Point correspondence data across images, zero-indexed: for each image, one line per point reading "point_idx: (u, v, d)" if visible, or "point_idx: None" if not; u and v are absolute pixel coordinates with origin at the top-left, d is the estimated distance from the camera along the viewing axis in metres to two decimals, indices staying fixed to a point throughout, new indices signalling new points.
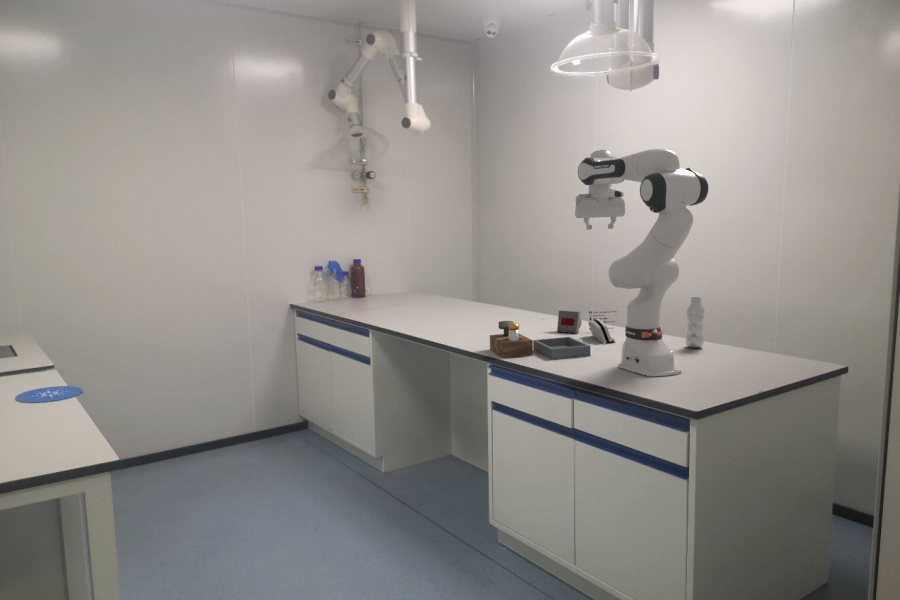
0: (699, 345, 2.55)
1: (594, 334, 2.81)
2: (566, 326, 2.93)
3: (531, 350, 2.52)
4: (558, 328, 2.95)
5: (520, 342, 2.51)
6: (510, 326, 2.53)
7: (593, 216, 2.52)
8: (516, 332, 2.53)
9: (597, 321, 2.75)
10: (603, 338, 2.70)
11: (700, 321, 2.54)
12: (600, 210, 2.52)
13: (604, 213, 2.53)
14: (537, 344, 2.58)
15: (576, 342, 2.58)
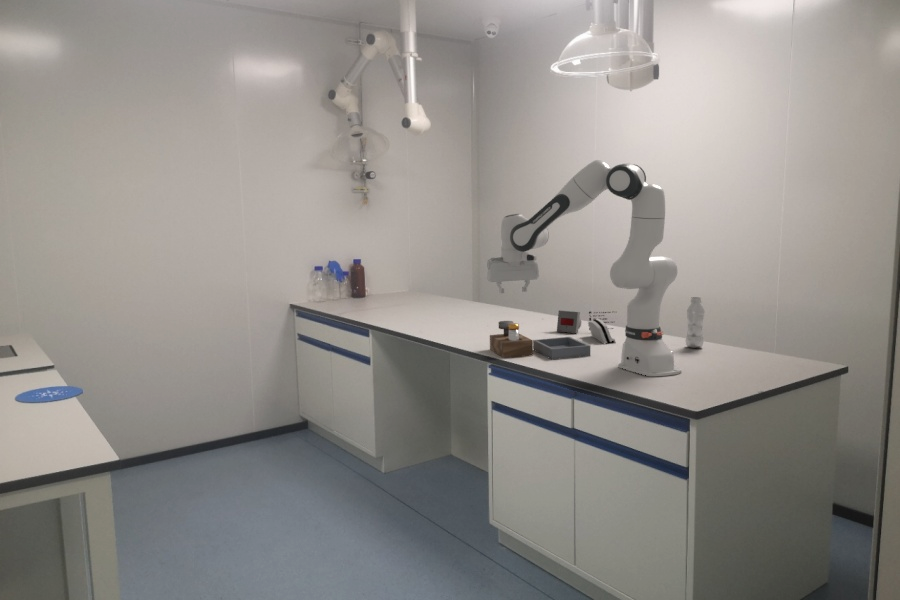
0: (699, 345, 2.55)
1: (594, 334, 2.81)
2: (565, 326, 2.93)
3: (531, 350, 2.52)
4: (558, 328, 2.95)
5: (520, 342, 2.51)
6: (510, 326, 2.53)
7: (505, 280, 2.49)
8: (516, 332, 2.53)
9: (597, 321, 2.75)
10: (603, 338, 2.70)
11: (700, 321, 2.54)
12: (512, 274, 2.49)
13: (516, 276, 2.50)
14: (537, 344, 2.58)
15: (576, 342, 2.58)
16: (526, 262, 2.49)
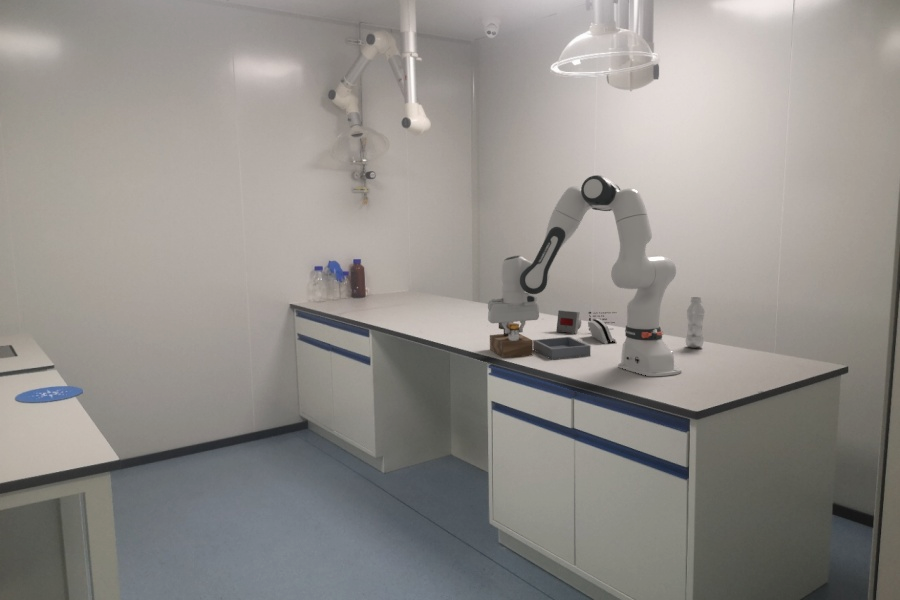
0: (699, 345, 2.55)
1: (594, 334, 2.80)
2: (565, 326, 2.93)
3: (531, 350, 2.52)
4: (557, 328, 2.95)
5: (520, 342, 2.51)
6: (510, 326, 2.53)
7: (506, 321, 2.51)
8: (516, 332, 2.53)
9: (597, 321, 2.75)
10: (604, 338, 2.69)
11: (700, 321, 2.54)
12: (513, 315, 2.51)
13: (517, 317, 2.52)
14: (537, 344, 2.58)
15: (576, 342, 2.58)
16: (526, 303, 2.51)
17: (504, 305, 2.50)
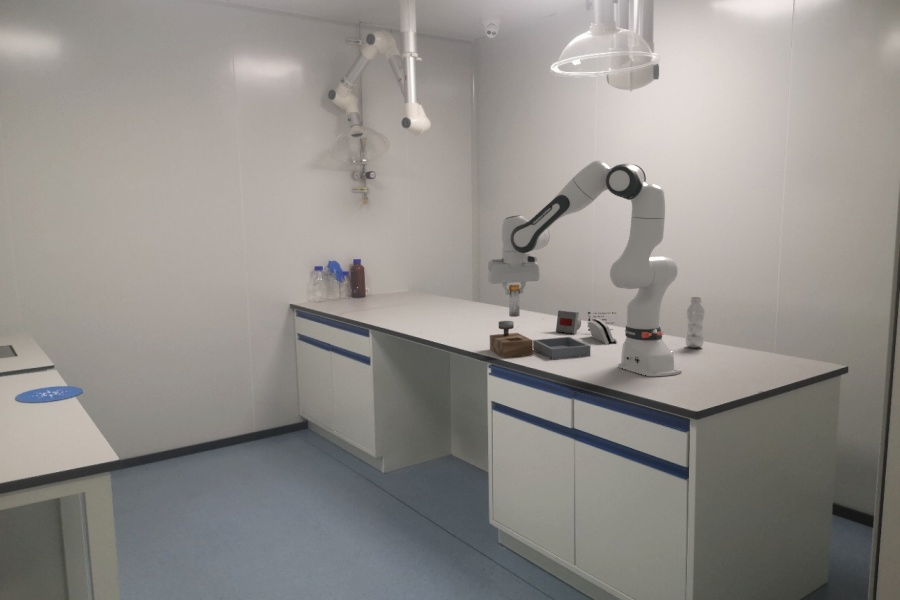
0: (699, 345, 2.55)
1: (594, 335, 2.80)
2: (564, 326, 2.92)
3: (531, 350, 2.52)
4: (557, 328, 2.95)
5: (520, 342, 2.51)
6: (510, 287, 2.50)
7: (506, 281, 2.49)
8: (516, 293, 2.50)
9: (598, 321, 2.74)
10: (605, 338, 2.69)
11: (700, 321, 2.54)
12: (513, 276, 2.49)
13: (517, 278, 2.50)
14: (537, 344, 2.58)
15: (576, 342, 2.58)
16: (527, 264, 2.49)
17: (504, 265, 2.48)
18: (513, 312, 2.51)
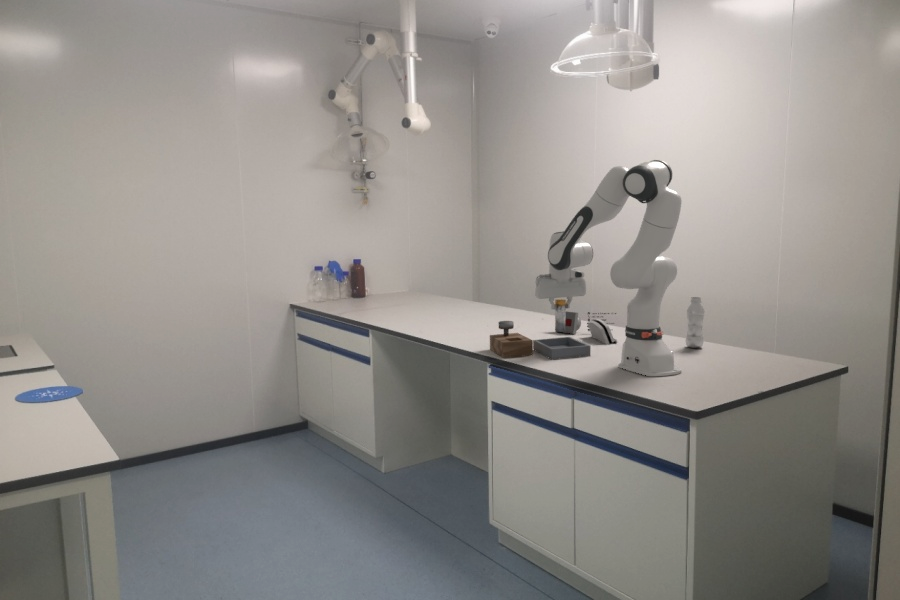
0: (699, 345, 2.55)
1: (594, 335, 2.80)
2: None
3: (531, 350, 2.52)
4: None
5: (520, 342, 2.51)
6: (557, 302, 2.52)
7: (553, 297, 2.50)
8: (563, 308, 2.52)
9: (598, 322, 2.74)
10: (606, 339, 2.69)
11: (700, 321, 2.54)
12: (560, 291, 2.51)
13: (564, 293, 2.51)
14: (537, 344, 2.58)
15: (576, 342, 2.58)
16: (574, 279, 2.50)
17: (552, 280, 2.49)
18: (560, 326, 2.53)
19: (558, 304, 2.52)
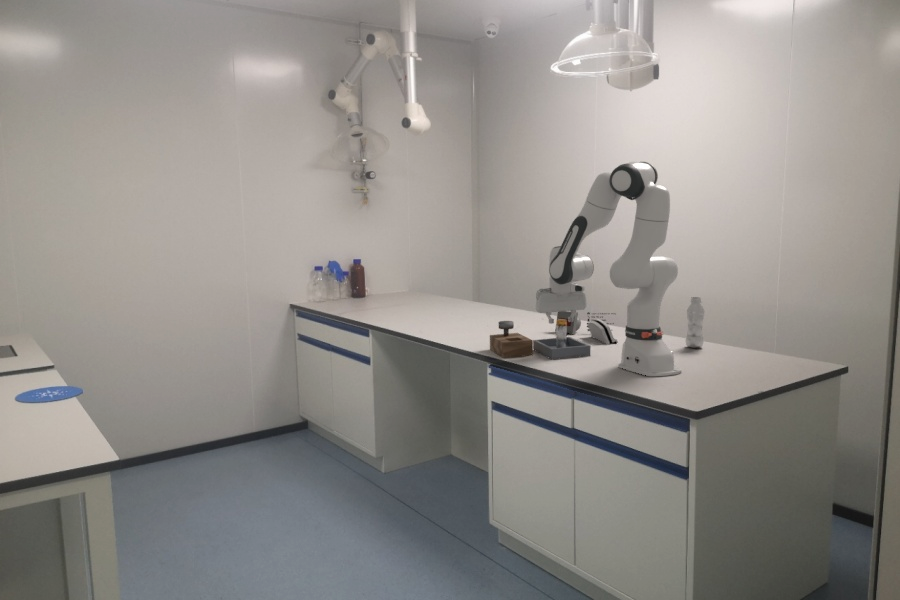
0: (699, 345, 2.55)
1: (594, 335, 2.79)
2: None
3: (531, 350, 2.52)
4: None
5: (520, 342, 2.51)
6: (558, 322, 2.53)
7: (554, 310, 2.51)
8: (564, 328, 2.53)
9: (598, 322, 2.74)
10: (606, 339, 2.68)
11: (700, 321, 2.54)
12: (561, 305, 2.51)
13: (564, 307, 2.52)
14: (537, 344, 2.58)
15: (576, 342, 2.58)
16: (574, 293, 2.51)
17: (552, 294, 2.50)
18: (560, 346, 2.54)
19: (559, 324, 2.53)
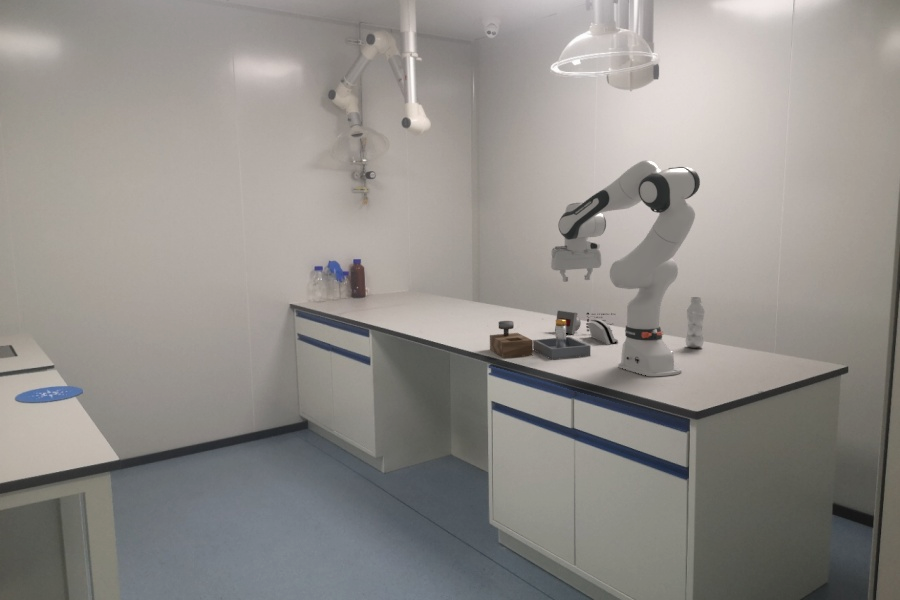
0: (699, 345, 2.55)
1: (595, 335, 2.79)
2: None
3: (531, 350, 2.52)
4: None
5: (520, 342, 2.51)
6: (557, 322, 2.53)
7: (569, 268, 2.51)
8: (564, 328, 2.53)
9: (599, 322, 2.73)
10: (607, 339, 2.68)
11: (700, 321, 2.54)
12: (576, 262, 2.52)
13: (580, 264, 2.52)
14: (537, 344, 2.58)
15: (576, 342, 2.58)
16: (590, 250, 2.52)
17: (568, 252, 2.50)
18: (560, 347, 2.54)
19: (559, 324, 2.53)
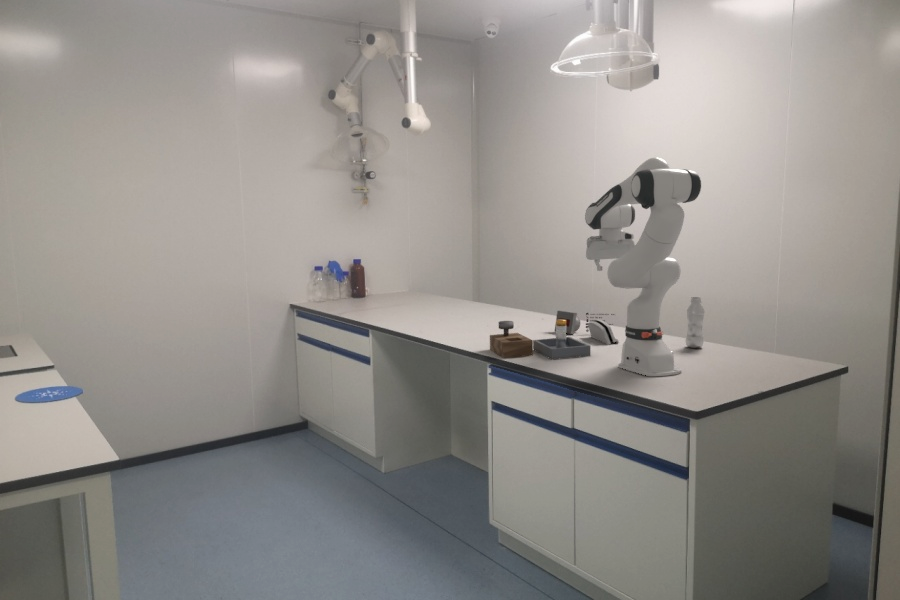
0: (699, 345, 2.55)
1: (594, 335, 2.79)
2: None
3: (531, 350, 2.52)
4: (555, 328, 2.95)
5: (520, 342, 2.51)
6: (558, 322, 2.53)
7: (604, 258, 2.57)
8: (564, 328, 2.53)
9: (599, 322, 2.73)
10: (607, 339, 2.68)
11: (700, 321, 2.54)
12: (611, 252, 2.57)
13: (614, 254, 2.58)
14: (537, 344, 2.58)
15: (576, 342, 2.58)
16: (624, 240, 2.57)
17: (602, 242, 2.56)
18: (560, 347, 2.54)
19: (559, 324, 2.53)
